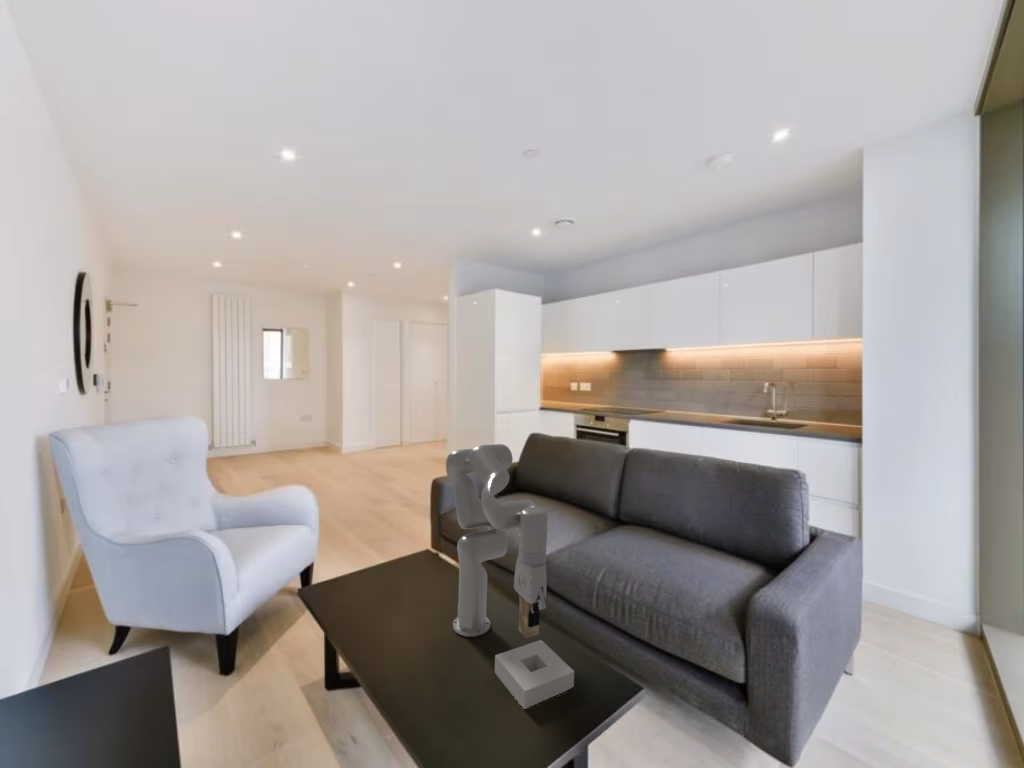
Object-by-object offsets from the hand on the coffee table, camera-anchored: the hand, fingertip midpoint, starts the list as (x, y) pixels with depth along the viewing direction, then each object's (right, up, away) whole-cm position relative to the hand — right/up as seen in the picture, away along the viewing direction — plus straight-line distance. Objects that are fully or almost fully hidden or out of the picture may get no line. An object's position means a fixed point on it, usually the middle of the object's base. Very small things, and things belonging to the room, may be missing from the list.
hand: (529, 620), depth 118 cm
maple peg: (0, -3, 0) cm, 3 cm away
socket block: (+1, -19, +4) cm, 19 cm away
